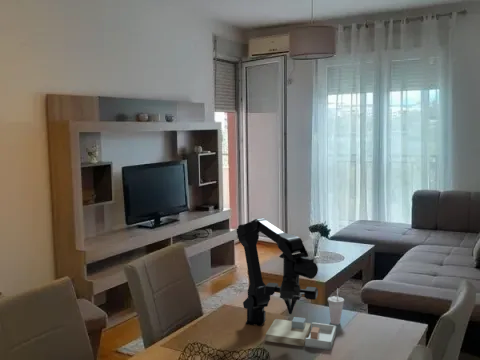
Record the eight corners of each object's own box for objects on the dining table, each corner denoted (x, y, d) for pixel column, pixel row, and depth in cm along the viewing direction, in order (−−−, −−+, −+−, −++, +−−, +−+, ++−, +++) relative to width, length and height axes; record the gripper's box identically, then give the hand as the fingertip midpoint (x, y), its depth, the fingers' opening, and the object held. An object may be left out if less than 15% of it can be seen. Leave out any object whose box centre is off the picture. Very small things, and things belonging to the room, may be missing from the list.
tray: (305, 346, 176) (305, 338, 175) (312, 329, 190) (312, 322, 190) (330, 350, 173) (331, 342, 173) (336, 333, 187) (336, 325, 187)
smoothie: (343, 326, 193) (344, 291, 192) (326, 325, 195) (327, 290, 193) (343, 320, 200) (344, 286, 198) (327, 318, 201) (328, 285, 199)
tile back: (291, 327, 186) (291, 321, 185) (294, 323, 190) (294, 316, 190) (303, 329, 184) (303, 322, 184) (305, 324, 189) (305, 318, 188)
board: (265, 340, 180) (265, 334, 180) (275, 325, 194) (275, 318, 194) (303, 346, 176) (303, 339, 176) (310, 329, 190) (311, 323, 190)
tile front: (310, 331, 176) (317, 332, 175) (312, 326, 180) (319, 327, 179) (310, 343, 176) (317, 344, 176) (312, 338, 181) (319, 339, 180)
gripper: (260, 275, 174) (259, 318, 175) (313, 281, 168) (312, 325, 170) (268, 267, 184) (267, 307, 186) (318, 271, 178) (317, 313, 180)
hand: (290, 313), depth 180 cm, fingers closed
